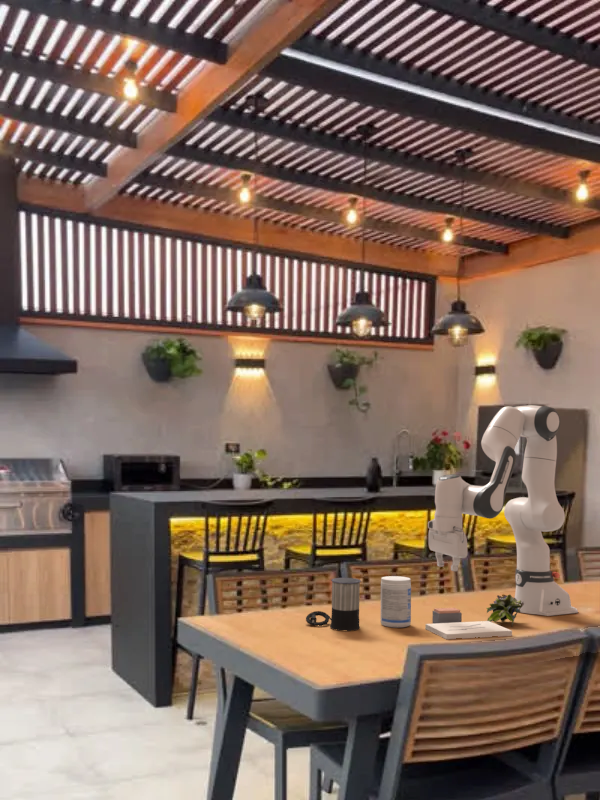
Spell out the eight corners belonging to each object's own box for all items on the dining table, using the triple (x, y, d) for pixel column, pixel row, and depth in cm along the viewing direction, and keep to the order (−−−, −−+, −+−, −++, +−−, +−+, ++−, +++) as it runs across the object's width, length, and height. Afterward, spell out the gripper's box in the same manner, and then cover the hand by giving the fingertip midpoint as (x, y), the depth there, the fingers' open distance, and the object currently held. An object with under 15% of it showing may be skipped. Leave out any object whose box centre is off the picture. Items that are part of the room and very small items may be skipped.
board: (488, 625, 267) (488, 620, 267) (512, 635, 253) (512, 630, 253) (425, 628, 260) (425, 623, 260) (446, 639, 247) (446, 634, 247)
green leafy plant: (502, 638, 273) (518, 606, 277) (520, 639, 263) (536, 606, 267) (475, 619, 272) (491, 587, 276) (492, 619, 262) (508, 586, 266)
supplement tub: (415, 628, 261) (415, 580, 262) (386, 628, 259) (386, 580, 259) (404, 621, 270) (404, 575, 271) (376, 622, 268) (377, 575, 269)
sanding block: (455, 622, 271) (455, 607, 271) (461, 625, 267) (461, 610, 267) (432, 623, 269) (432, 608, 269) (438, 626, 264) (438, 611, 265)
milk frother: (363, 631, 255) (364, 582, 256) (312, 632, 252) (313, 582, 253) (351, 621, 269) (352, 574, 270) (303, 622, 266) (304, 575, 267)
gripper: (473, 528, 260) (472, 573, 260) (442, 522, 280) (441, 563, 279) (454, 528, 258) (453, 573, 258) (425, 522, 278) (424, 564, 277)
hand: (447, 568), depth 269 cm, fingers open, 8 cm apart
